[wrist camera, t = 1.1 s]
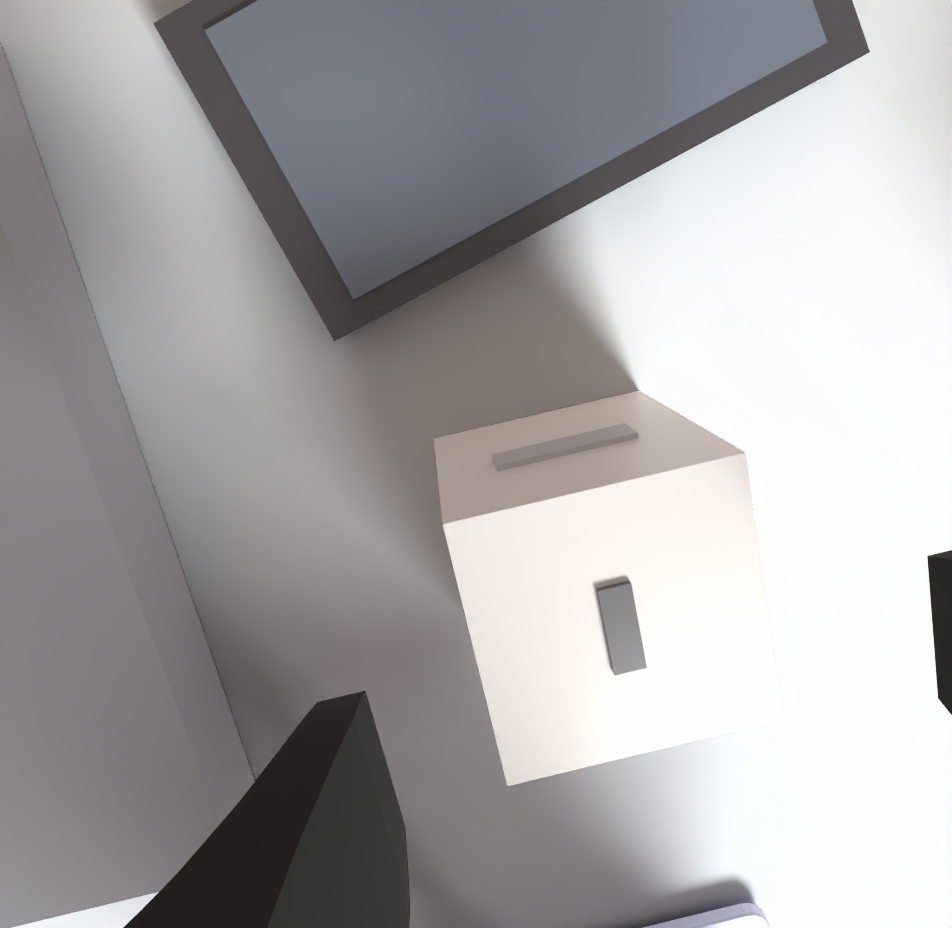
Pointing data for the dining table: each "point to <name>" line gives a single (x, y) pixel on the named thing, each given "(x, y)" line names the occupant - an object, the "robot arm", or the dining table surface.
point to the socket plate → (88, 600)
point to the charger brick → (607, 582)
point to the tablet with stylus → (472, 116)
